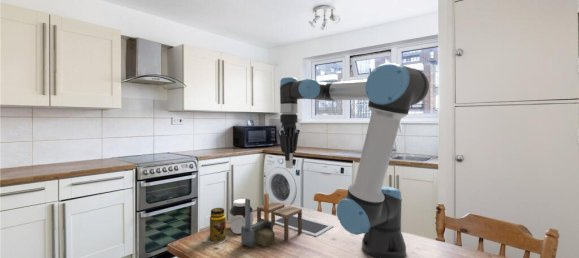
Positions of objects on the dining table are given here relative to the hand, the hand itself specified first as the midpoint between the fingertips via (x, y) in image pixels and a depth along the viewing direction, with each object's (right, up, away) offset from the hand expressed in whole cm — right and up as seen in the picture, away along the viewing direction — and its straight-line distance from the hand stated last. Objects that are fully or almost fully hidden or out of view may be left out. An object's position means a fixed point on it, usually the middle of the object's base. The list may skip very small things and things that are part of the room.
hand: (289, 168), depth 119 cm
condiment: (-29, -27, -11) cm, 41 cm away
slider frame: (-12, -27, -14) cm, 32 cm away
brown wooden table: (-4, -27, -4) cm, 27 cm away
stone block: (-11, -27, -12) cm, 32 cm away
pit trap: (+5, -26, +5) cm, 27 cm away
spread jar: (-21, -27, 0) cm, 34 cm away
